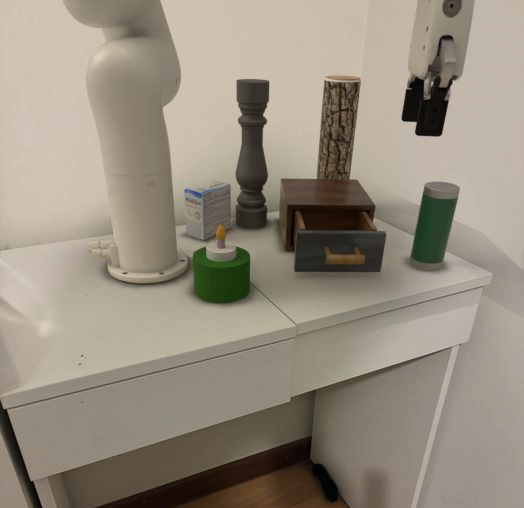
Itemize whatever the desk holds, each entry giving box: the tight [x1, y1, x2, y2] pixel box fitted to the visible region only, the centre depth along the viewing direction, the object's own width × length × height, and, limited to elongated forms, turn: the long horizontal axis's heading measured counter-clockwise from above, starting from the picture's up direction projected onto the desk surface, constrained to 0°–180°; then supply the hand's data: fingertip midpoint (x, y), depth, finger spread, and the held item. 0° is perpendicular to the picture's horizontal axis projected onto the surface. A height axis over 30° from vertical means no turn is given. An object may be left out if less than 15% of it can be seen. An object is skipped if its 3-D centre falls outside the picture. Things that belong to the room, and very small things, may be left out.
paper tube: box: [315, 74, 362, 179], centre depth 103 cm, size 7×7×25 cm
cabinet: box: [278, 178, 376, 252], centre depth 95 cm, size 16×15×8 cm
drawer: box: [292, 209, 388, 273], centre depth 83 cm, size 20×14×6 cm
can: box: [409, 181, 461, 271], centre depth 83 cm, size 5×5×13 cm
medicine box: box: [183, 179, 232, 241], centre depth 94 cm, size 8×4×9 cm, turn 144°
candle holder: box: [235, 78, 270, 230], centre depth 95 cm, size 6×6×25 cm
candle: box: [191, 225, 251, 304], centre depth 74 cm, size 8×8×10 cm
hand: (419, 128), depth 67 cm, fingers open, 9 cm apart
